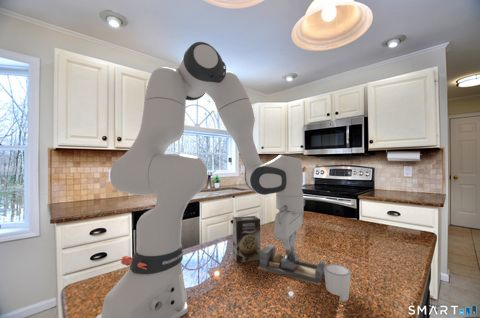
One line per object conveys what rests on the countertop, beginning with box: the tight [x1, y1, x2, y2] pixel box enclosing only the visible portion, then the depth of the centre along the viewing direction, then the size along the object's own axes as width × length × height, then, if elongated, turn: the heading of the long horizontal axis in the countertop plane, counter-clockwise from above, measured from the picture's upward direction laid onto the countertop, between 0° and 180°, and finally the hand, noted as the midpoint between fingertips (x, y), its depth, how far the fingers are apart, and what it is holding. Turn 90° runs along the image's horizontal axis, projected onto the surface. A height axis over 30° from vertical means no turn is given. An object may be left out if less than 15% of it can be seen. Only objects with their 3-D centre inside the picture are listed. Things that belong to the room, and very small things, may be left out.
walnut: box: [272, 252, 284, 266], centre depth 75 cm, size 4×4×4 cm
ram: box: [281, 233, 300, 273], centre depth 73 cm, size 7×4×12 cm, turn 150°
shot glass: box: [324, 263, 352, 302], centre depth 61 cm, size 7×7×7 cm
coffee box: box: [232, 215, 261, 263], centre depth 81 cm, size 9×6×16 cm
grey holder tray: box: [256, 243, 326, 286], centre depth 73 cm, size 11×20×6 cm, turn 60°
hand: (290, 245), depth 73 cm, fingers open, 6 cm apart
